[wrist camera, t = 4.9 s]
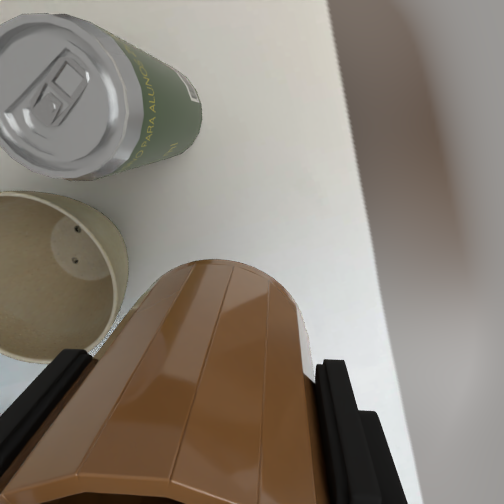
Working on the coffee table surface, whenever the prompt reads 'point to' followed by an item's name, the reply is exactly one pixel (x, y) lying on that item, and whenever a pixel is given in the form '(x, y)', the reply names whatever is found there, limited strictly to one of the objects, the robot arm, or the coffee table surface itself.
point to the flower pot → (56, 275)
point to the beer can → (88, 100)
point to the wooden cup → (187, 403)
